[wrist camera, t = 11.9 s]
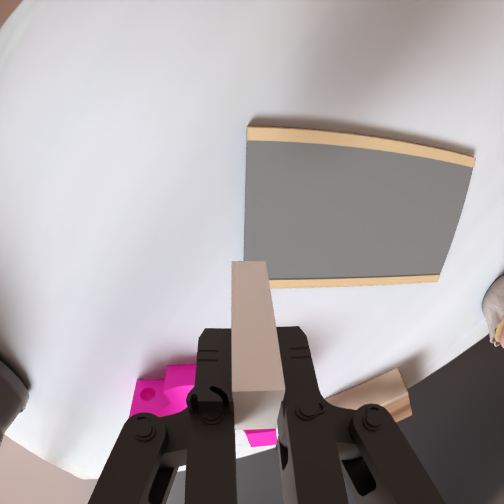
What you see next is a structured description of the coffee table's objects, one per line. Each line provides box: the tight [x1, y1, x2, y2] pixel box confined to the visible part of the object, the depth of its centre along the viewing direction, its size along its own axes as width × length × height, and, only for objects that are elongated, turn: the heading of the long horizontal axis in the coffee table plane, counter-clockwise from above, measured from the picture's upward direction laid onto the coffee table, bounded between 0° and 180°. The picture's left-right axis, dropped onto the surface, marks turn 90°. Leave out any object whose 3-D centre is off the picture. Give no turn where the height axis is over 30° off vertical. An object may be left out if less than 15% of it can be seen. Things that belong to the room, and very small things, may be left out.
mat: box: [244, 126, 476, 288], centre depth 21 cm, size 18×12×1 cm, turn 88°
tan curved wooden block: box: [325, 368, 412, 422], centre depth 34 cm, size 4×10×9 cm
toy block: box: [129, 364, 277, 447], centre depth 28 cm, size 15×6×8 cm, turn 98°
